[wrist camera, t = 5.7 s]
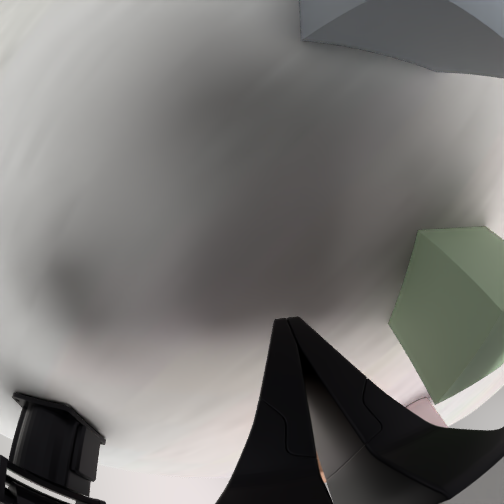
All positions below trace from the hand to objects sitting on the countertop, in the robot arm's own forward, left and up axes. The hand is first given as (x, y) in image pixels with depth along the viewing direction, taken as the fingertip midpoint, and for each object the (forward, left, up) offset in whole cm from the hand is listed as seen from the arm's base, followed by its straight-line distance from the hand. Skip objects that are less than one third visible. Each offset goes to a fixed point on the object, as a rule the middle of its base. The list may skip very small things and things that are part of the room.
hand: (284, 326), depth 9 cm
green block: (+8, 0, -1) cm, 8 cm away
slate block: (+3, +11, -1) cm, 12 cm away
